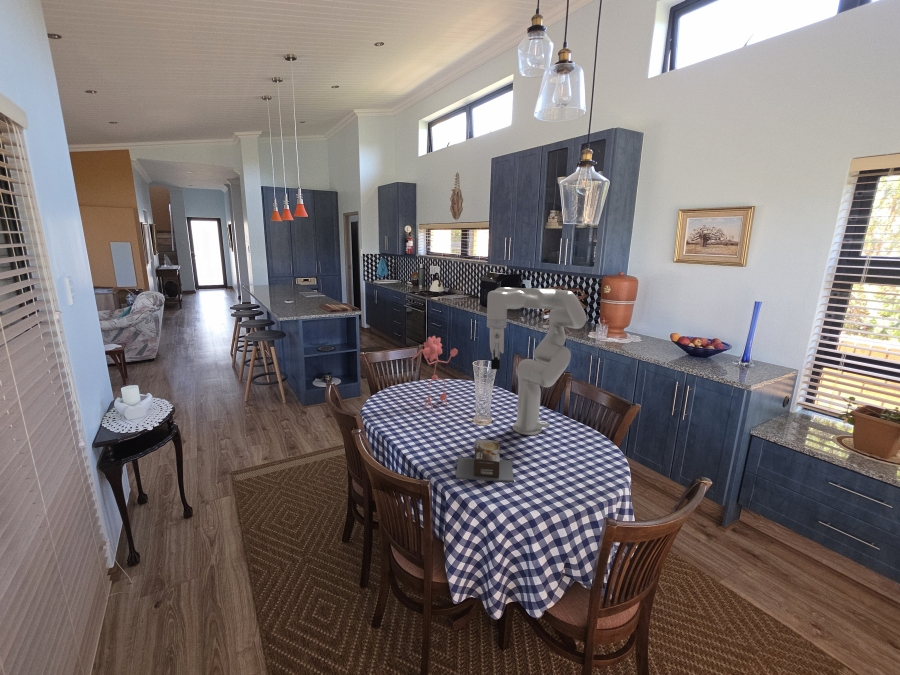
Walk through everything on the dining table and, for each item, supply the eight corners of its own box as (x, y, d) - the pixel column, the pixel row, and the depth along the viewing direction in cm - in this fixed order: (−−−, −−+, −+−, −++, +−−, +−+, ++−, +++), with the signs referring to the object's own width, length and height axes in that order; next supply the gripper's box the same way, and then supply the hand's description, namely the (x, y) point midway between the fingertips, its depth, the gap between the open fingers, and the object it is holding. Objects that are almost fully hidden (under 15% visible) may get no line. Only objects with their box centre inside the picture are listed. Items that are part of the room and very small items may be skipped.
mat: (511, 461, 164) (511, 460, 164) (513, 481, 151) (514, 480, 150) (457, 458, 165) (457, 457, 165) (455, 478, 152) (455, 477, 152)
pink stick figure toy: (461, 402, 223) (461, 335, 215) (420, 414, 206) (419, 342, 199) (441, 394, 234) (441, 330, 227) (401, 405, 218) (400, 336, 210)
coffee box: (474, 454, 168) (472, 476, 152) (475, 439, 167) (473, 459, 151) (498, 456, 167) (498, 478, 152) (499, 440, 166) (499, 461, 150)
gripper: (508, 327, 161) (506, 374, 165) (505, 319, 176) (503, 363, 180) (487, 326, 161) (486, 374, 166) (486, 319, 176) (485, 363, 180)
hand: (495, 368), depth 173 cm, fingers closed
